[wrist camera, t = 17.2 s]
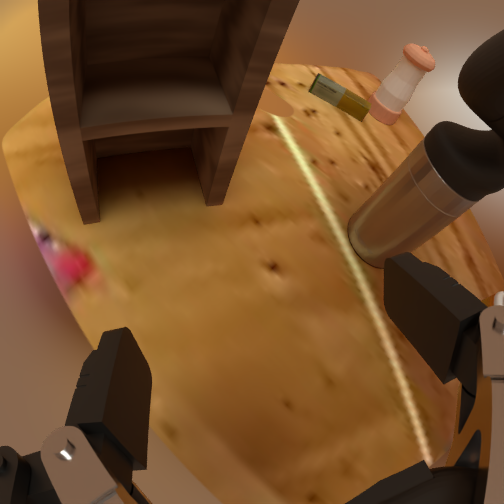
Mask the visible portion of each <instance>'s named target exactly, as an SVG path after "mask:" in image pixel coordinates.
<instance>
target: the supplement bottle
mask: <svg viewBox="0 0 504 504" xmlns="http://www.w3.org/2000/svg"><path fill="white" fill-rule="evenodd" d="M481 302H483V303H484V304H485V305H486V306H487V307H491V306H495V305H502V306H504V292H502V291H501V292H498V293H496V294H494V295H492V296H490V297H488V298H486V299H484V300H482V301H481Z"/></svg>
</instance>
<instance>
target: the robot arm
mask: <svg viewBox="0 0 504 504" xmlns="http://www.w3.org/2000/svg"><path fill="white" fill-rule="evenodd" d="M458 89H459V93H460V95H461V97H462V98H463V100H464V102H465V103H466V104H467V105H468V106H469V108H470V109H471V110H472V111H473V112H474V113H475V114H476V115H477V116H479V118H480V119H481V120H483V121H484V122H485V123H486V124H487V125H488V126H489V127H490V128H491V129H492V130H490V131H481V130H474V129H470V128H467V127H464V126H462V125H459V124H456V123H453V122H449V121H443V122H440V123H438V124H436V125H435V126H434V127H433V128H432V129H431V131H430V132H429V133H428V134H427V135H426V136H425V138H424V139H423V140H422V141H421V142H420V143H419V144H418V145H417V147H416V148H415V149H414V150H413V151H412V152H411V153H410V155H409V156H408V157H407V158H406V159H405V160H404V161H403V162H402V163H401V165H400V166H399V167H398V168H397V169H396V170H395V171H394V172H393V173H392V174H391V175H390V177H389V178H388V179H387V180H386V181H385V182H384V183H383V184H382V185H381V186H380V187H379V188H378V189H377V191H376V192H375V193H374V194H373V195H372V196H371V197H370V198H369V199H368V200H367V201H366V202H365V203H364V204H363V205H362V206H361V207H360V208H359V210H358V211H357V212H356V213H355V214H354V215H353V216H352V217H351V219H350V221H349V224H348V234H349V238H350V242H351V244H352V246H353V248H354V249H355V251H356V252H357V254H358V255H359V256H360V257H361V258H362V259H363V260H364V261H366V262H367V263H368V264H370V265H372V266H374V267H378V268H384V305H385V309H386V312H387V314H388V316H389V317H390V319H391V320H392V321H393V322H394V323H395V325H396V326H397V327H398V328H399V329H400V331H401V332H402V333H403V334H404V335H405V337H406V338H407V339H408V340H409V341H410V343H411V344H412V345H413V346H414V348H415V349H416V350H417V351H418V353H419V354H420V355H421V356H422V358H423V359H424V360H425V361H426V363H427V364H428V365H429V366H430V368H431V369H432V370H433V371H434V373H435V374H436V375H437V376H438V378H439V379H440V380H441V382H442V383H443V384H446V383H447V382H449V381H451V380H453V379H455V378H457V379H458V380H459V381H460V384H459V387H458V397H457V409H456V420H455V429H454V437H453V442H452V446H451V449H450V452H449V455H448V458H447V461H446V465H445V467H438V468H432V469H429V468H428V466H427V464H426V463H425V461H424V460H423V461H421V462H419V463H417V464H415V465H413V466H411V467H409V468H407V469H405V470H403V471H401V472H398V473H396V474H394V475H392V476H389V477H387V478H385V479H383V480H380V481H379V482H377V483H376V484H374V485H373V486H372V487H370V488H369V489H367V490H366V491H364V492H363V493H361V494H360V495H358V496H356V497H355V498H353V499H352V500H350V501H349V502H347V503H345V504H504V306H502V305H495V306H491V307H487V306H486V305H485V304H484V303H483V302H481V301H480V300H479V299H478V298H477V297H476V296H474V295H473V294H472V293H471V292H469V291H468V290H467V289H466V288H465V287H463V286H462V285H461V284H458V282H457V281H456V280H455V279H453V278H452V277H451V278H450V275H448V274H447V273H446V272H444V271H443V270H442V269H441V268H439V267H437V266H434V265H432V264H429V263H426V262H421V261H420V260H419V259H418V258H416V257H415V256H414V255H412V254H411V252H413V251H414V250H415V249H417V248H418V247H420V246H421V245H422V244H424V243H425V242H426V241H428V240H429V239H431V238H432V237H433V236H435V235H436V234H437V233H439V232H440V231H441V230H443V229H444V228H445V227H446V226H448V225H449V224H450V223H452V222H453V221H454V220H456V219H457V218H458V217H459V216H461V215H462V214H463V213H464V212H466V211H467V210H468V209H469V208H471V207H472V206H473V205H474V204H476V203H477V202H478V201H479V200H481V199H482V198H483V197H484V196H486V195H488V194H491V193H495V192H498V191H499V190H501V189H503V188H504V30H502V31H501V32H499V33H497V34H496V35H494V36H493V37H491V38H490V39H488V40H487V41H486V42H484V43H483V44H482V45H481V46H479V47H478V48H477V49H476V50H475V51H474V52H473V53H472V54H471V56H470V57H469V58H468V59H467V61H466V62H465V64H464V65H463V67H462V70H461V72H460V74H459V78H458ZM76 386H77V389H75V392H74V395H73V398H72V402H71V405H70V409H69V412H68V416H67V419H66V423H65V426H64V427H60V428H58V429H56V430H54V431H53V432H51V433H50V434H49V435H48V436H47V438H46V439H45V440H44V442H43V445H42V447H41V451H38V452H35V453H32V454H29V455H26V456H20V455H19V454H18V453H17V452H16V451H15V450H14V449H13V448H11V447H9V446H1V447H0V504H152V503H151V501H150V500H149V499H148V498H147V497H146V496H145V494H144V493H143V492H142V491H141V490H140V489H139V487H138V486H137V485H136V484H135V483H134V482H133V481H132V471H133V470H146V468H147V445H148V429H149V414H150V401H151V389H152V375H151V371H150V368H149V365H148V363H147V361H146V359H145V357H144V355H143V354H142V352H141V350H140V348H139V346H138V344H137V342H136V340H135V338H134V337H133V335H132V333H131V331H130V330H129V329H128V328H127V327H123V328H119V329H114V330H110V331H105V332H103V334H102V336H101V339H100V342H99V346H98V349H97V350H93V351H92V352H91V354H90V355H89V356H88V358H87V359H86V360H85V362H84V363H83V366H82V370H81V373H80V378H79V379H78V382H77V385H76Z"/></svg>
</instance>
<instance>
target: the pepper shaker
mask: <svg viewBox="0 0 504 504" xmlns="http://www.w3.org/2000/svg"><path fill="white" fill-rule="evenodd" d="M403 54H404V55H403V57H402V58H401V60H400V61H399V63H398V64H397V66H396V67H395V69H394V70H393V71H392V72H391V73H390V74H389V75H388V76H387V77H386V78H385V79H384V80H383V82H382V83H381V85H380V86H379V88H378V89H377V91H375V92H373V94H372V95H371V97H370V98H369V100H368V102H369V103H371V108H370V110H369V111H368V112H369V113H370V114H371V115H372V116H373V117H374V118H376V119H377V120H379V121H380V122H382V123H384V124H388V125H392V124H393V123H394V122H395V121H396V120H397V118H398V117H399V116H400V114H401V113H402V109H403V108H404V106H405V105H406V104H407V103H408V101H409V100H410V98H411V96H412V94H413V92H414V90H415V88H416V86H417V85H418V83H419V82H420V80H421V79H422V78H423V76H424V75H425V73H426V72H430V71H432V70H433V69H434V68H435V60H434V59H433V57H432V56H431V54H430V53H429V50H428V48H426V47H425V46H422V47H420V46H418V45H415V44H407V45H406V46H405V47H404V49H403Z"/></svg>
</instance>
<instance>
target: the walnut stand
mask: <svg viewBox="0 0 504 504" xmlns="http://www.w3.org/2000/svg"><path fill="white" fill-rule="evenodd" d="M298 3H299V0H38V11H39V24H40V33H41V34H40V35H41V44H42V52H43V60H44V67H45V73H46V79H47V85H48V91H49V96H50V102H51V107H52V112H53V116H54V121H55V125H56V130H57V134H58V138H59V142H60V146H61V150H62V154H63V158H64V162H65V165H66V169H67V173H68V176H69V180H70V183H71V186H72V190H73V193H74V196H75V199H76V202H77V206H78V209H79V212H80V215H81V218H82V221H83V224H90V223H96V222H100V215H99V200H98V179H97V158H99V157H106V156H113V155H120V154H128V153H135V152H144V151H152V150H162V149H172V148H183V147H191V150H192V153H193V157H194V161H195V165H196V169H197V173H198V176H199V180H200V184H201V188H202V191H203V195H204V199H205V202H206V206H213V205H221V204H223V201H224V198H225V195H226V192H227V189H228V186H229V183H230V180H231V177H232V175H233V172H234V169H235V166H236V163H237V160H238V158H239V155H240V152H241V149H242V146H243V144H244V141H245V138H246V135H247V133H248V130H249V127H250V124H251V122H252V119H253V116H254V114H255V111H256V108H257V106H258V103H259V100H260V98H261V95H262V92H263V90H264V87H265V85H266V82H267V79H268V77H269V74H270V72H271V69H272V67H273V64H274V61H275V59H276V56H277V54H278V51H279V49H280V46H281V44H282V41H283V39H284V36H285V34H286V32H287V29H288V27H289V24H290V22H291V19H292V17H293V14H294V12H295V10H296V8H297V5H298Z"/></svg>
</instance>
